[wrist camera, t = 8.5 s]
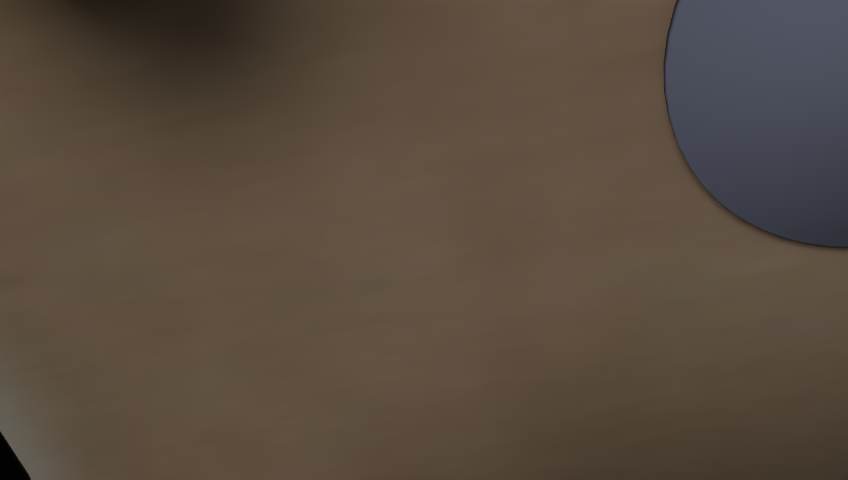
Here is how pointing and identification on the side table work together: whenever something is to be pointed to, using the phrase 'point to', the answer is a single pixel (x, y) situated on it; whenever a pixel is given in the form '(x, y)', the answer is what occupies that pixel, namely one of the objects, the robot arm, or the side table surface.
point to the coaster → (765, 110)
